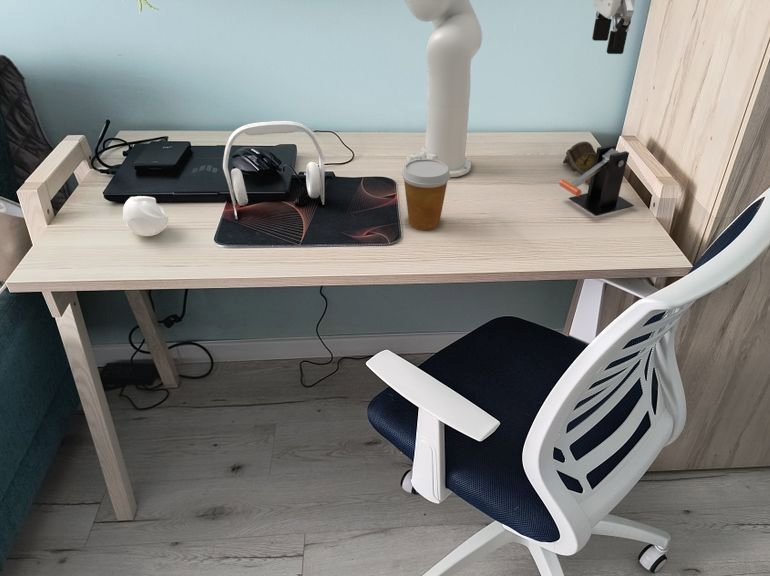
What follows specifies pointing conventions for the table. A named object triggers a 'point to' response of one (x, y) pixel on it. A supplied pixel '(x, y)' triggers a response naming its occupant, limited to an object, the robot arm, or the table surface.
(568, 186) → the lever
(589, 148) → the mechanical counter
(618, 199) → the stand
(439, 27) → the robot arm
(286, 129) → the headset
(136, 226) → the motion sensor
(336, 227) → the table surface
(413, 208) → the disposable coffee cup
